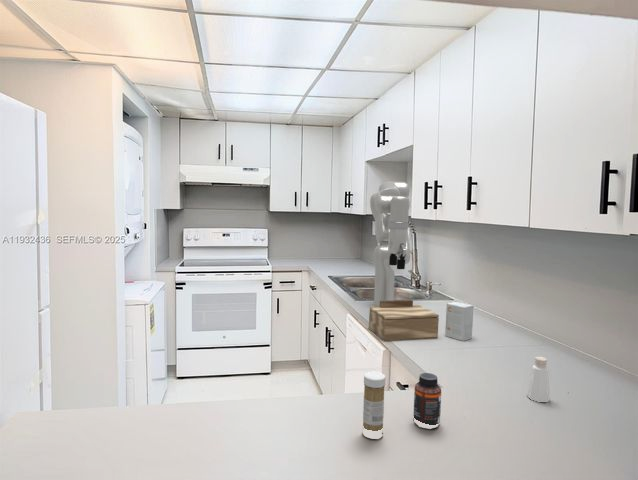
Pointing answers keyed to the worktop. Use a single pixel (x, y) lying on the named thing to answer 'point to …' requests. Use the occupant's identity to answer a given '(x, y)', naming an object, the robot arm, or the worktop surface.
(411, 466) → the worktop surface
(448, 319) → the small box
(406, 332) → the mailer box
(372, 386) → the sprinkles bottle
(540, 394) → the pepper shaker
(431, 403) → the supplement bottle
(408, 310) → the mailer lid
